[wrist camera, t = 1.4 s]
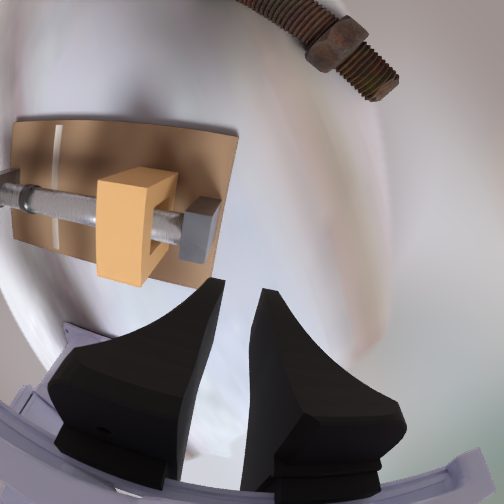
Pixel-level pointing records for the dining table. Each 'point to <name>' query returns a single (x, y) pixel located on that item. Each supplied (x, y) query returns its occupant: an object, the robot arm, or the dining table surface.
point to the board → (112, 162)
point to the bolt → (332, 44)
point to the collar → (131, 223)
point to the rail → (84, 212)
